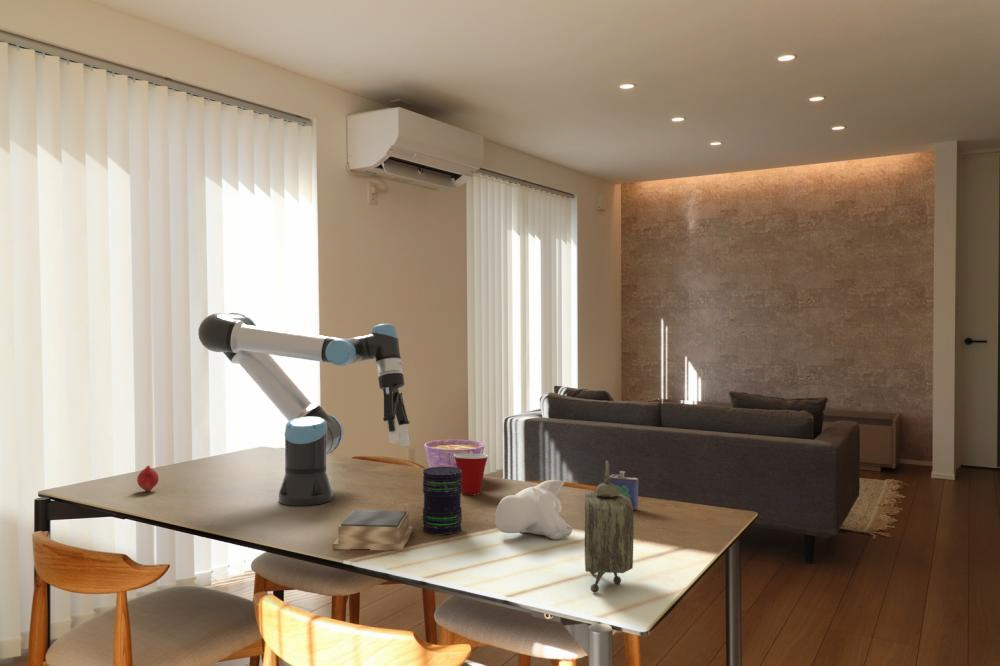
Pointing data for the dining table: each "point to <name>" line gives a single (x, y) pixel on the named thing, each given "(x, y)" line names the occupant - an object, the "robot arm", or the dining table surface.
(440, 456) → the bowl of food
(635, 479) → the flask
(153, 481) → the onion
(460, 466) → the plastic cup
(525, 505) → the fox head
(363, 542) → the plinth
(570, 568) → the dining table surface
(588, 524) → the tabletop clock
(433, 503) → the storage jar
